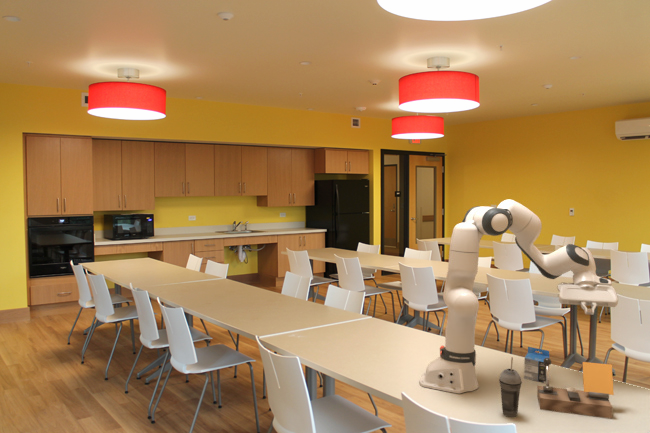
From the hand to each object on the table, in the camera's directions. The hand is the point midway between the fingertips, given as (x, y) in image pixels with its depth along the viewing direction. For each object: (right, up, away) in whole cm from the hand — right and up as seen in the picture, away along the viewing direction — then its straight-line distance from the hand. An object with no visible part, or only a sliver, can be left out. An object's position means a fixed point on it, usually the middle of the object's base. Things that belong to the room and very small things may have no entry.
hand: (589, 313), depth 187 cm
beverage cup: (-38, -30, -21) cm, 53 cm away
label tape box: (-15, -29, +11) cm, 35 cm away
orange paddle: (-6, -25, -17) cm, 31 cm away
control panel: (-14, -30, -15) cm, 36 cm away
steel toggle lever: (-21, -24, -12) cm, 35 cm away
